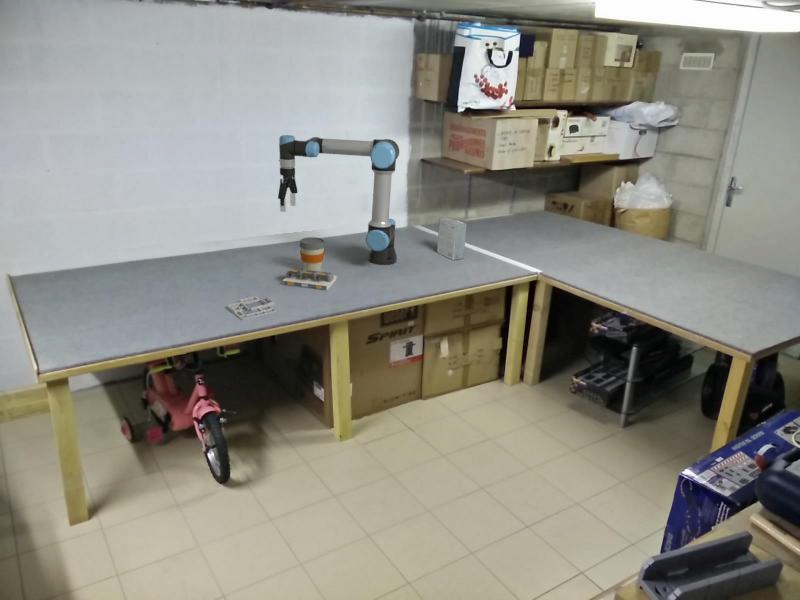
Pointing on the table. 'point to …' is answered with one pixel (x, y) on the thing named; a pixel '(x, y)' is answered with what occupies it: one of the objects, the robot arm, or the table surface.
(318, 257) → the reusable coffee cup
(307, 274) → the rocker middle
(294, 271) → the rocker
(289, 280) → the switch unit
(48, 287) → the table surface
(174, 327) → the table surface
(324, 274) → the rocker
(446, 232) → the hard drive box
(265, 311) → the floor plan model
